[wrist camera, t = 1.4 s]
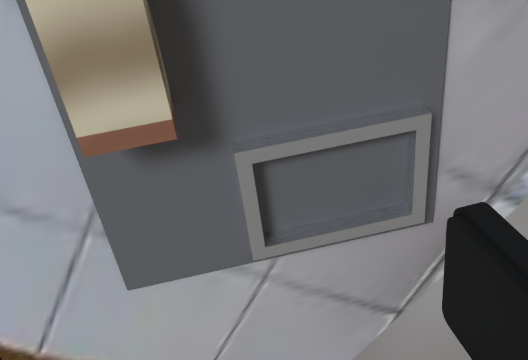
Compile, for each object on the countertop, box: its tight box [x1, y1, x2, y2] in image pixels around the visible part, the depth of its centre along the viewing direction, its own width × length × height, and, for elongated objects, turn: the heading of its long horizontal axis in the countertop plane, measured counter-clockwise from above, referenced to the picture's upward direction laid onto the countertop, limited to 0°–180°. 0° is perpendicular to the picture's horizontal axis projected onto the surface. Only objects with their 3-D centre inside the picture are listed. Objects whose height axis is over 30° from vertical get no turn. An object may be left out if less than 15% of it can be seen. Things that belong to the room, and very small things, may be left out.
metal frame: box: [231, 104, 432, 261], centre depth 35 cm, size 9×13×2 cm
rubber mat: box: [16, 0, 451, 290], centre depth 32 cm, size 23×24×1 cm
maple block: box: [25, 0, 177, 157], centre depth 26 cm, size 9×5×4 cm, turn 7°
